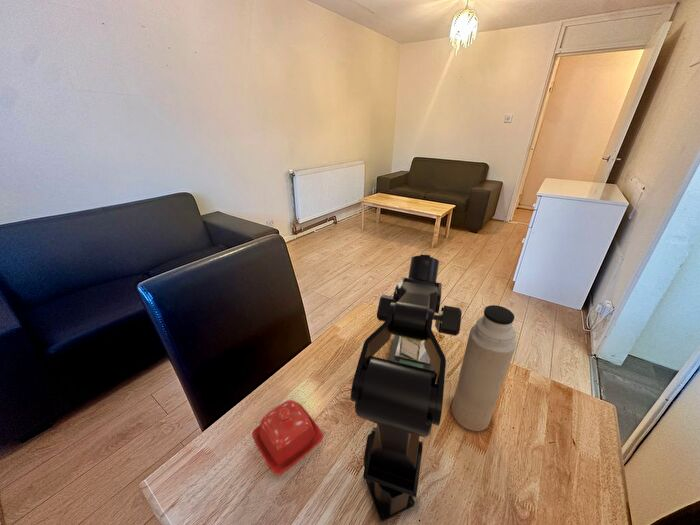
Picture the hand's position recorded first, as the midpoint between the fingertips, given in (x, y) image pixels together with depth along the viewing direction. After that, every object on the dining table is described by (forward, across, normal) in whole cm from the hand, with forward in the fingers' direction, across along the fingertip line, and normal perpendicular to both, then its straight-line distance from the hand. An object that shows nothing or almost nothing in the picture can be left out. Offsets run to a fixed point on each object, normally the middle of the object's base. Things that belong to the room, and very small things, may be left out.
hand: (417, 319), depth 74 cm
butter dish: (-14, +22, +31) cm, 40 cm away
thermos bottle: (-1, -14, +19) cm, 24 cm away
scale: (+8, 0, +10) cm, 12 cm away
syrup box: (+5, 0, +8) cm, 9 cm away
